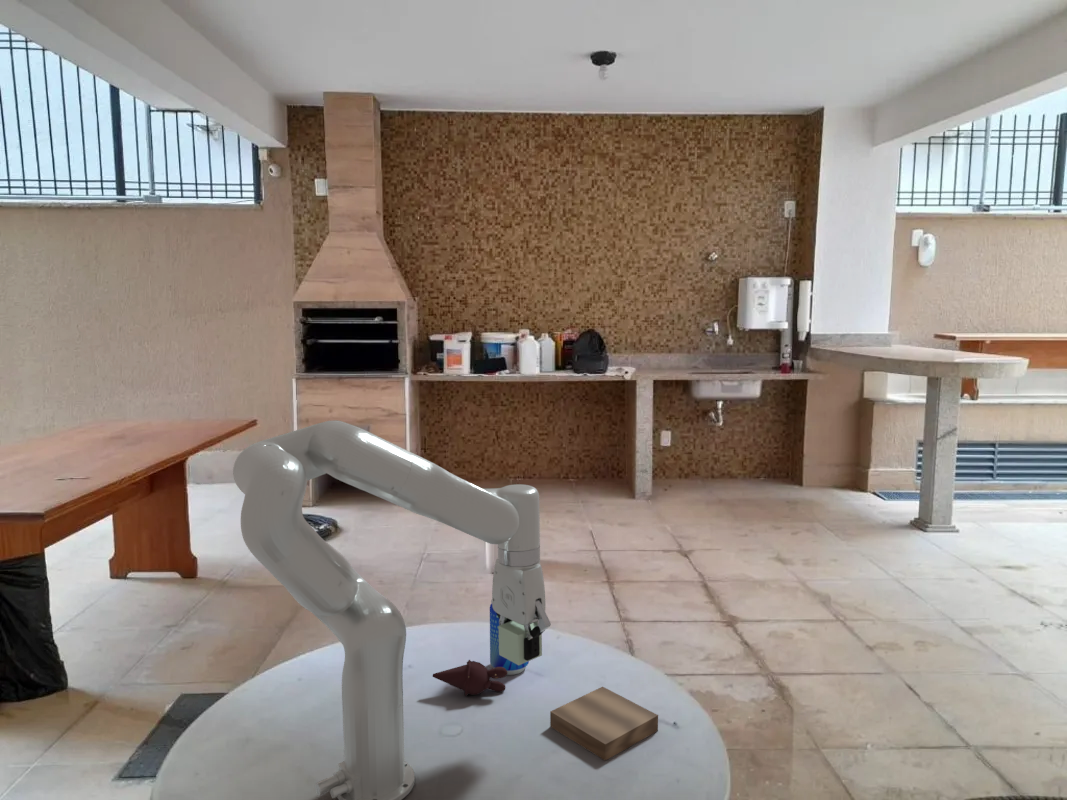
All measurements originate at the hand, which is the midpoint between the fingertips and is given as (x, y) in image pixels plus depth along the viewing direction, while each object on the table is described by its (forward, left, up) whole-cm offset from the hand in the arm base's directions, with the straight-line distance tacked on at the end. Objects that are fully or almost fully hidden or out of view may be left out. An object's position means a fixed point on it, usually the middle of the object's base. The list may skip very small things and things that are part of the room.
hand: (520, 650), depth 132 cm
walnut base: (+12, -9, -16) cm, 22 cm away
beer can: (+14, +21, -16) cm, 30 cm away
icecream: (+2, +18, -16) cm, 24 cm away
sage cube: (0, 0, -1) cm, 1 cm away
